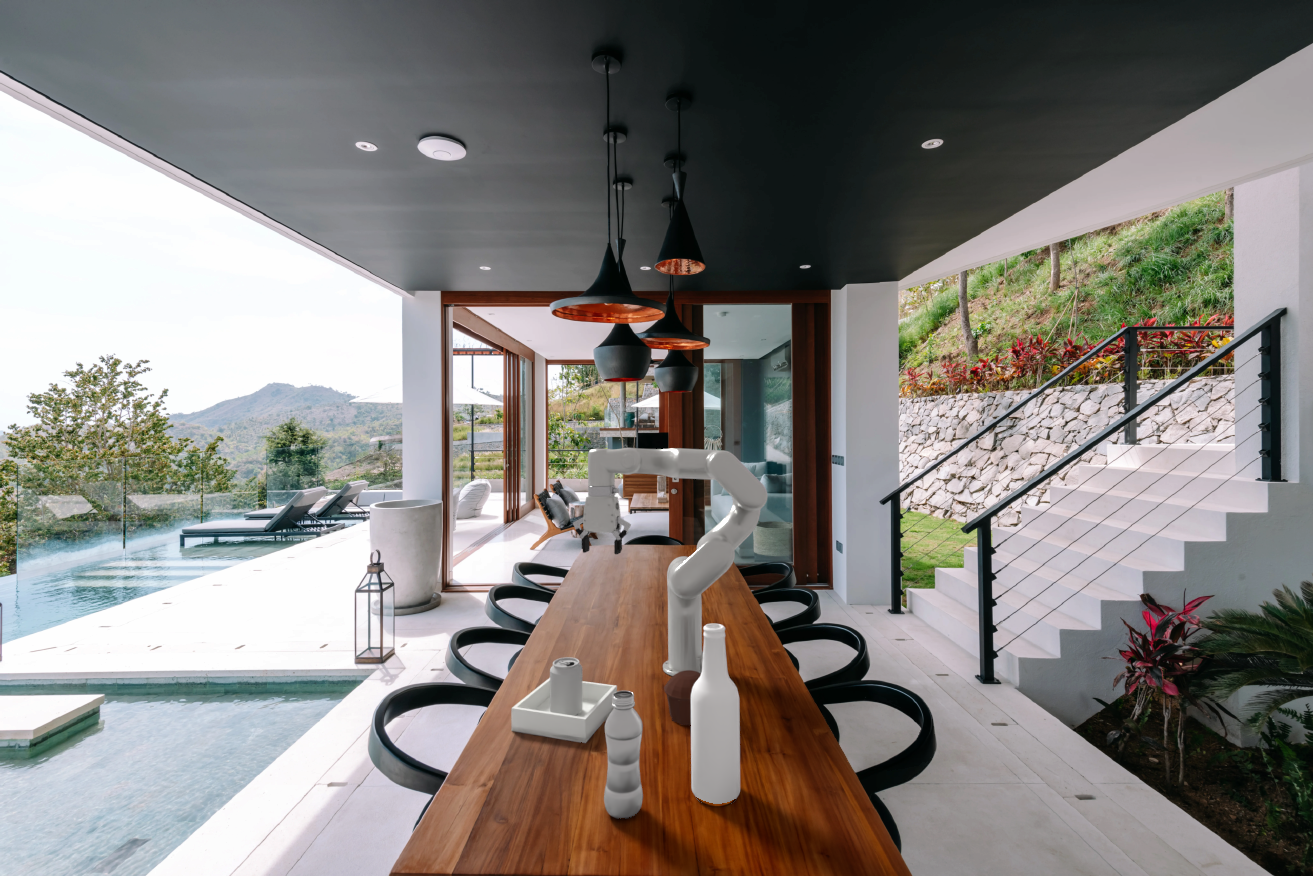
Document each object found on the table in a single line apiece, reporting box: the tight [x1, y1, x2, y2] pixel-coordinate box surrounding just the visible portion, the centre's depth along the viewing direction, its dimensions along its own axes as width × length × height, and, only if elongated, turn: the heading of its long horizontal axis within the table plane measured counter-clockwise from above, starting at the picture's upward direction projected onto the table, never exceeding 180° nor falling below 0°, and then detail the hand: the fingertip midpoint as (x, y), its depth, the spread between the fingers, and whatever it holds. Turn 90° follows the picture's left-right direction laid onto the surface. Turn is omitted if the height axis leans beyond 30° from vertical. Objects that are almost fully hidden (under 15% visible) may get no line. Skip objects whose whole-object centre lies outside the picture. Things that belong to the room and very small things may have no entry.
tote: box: [510, 677, 618, 744], centre depth 131 cm, size 18×18×5 cm
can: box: [549, 656, 583, 716], centre depth 132 cm, size 8×8×12 cm
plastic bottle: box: [603, 690, 644, 820], centre depth 97 cm, size 6×7×20 cm
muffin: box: [663, 670, 701, 726], centre depth 132 cm, size 12×11×10 cm
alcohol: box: [690, 623, 741, 804], centre depth 102 cm, size 9×9×30 cm
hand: (601, 552), depth 159 cm, fingers open, 9 cm apart
